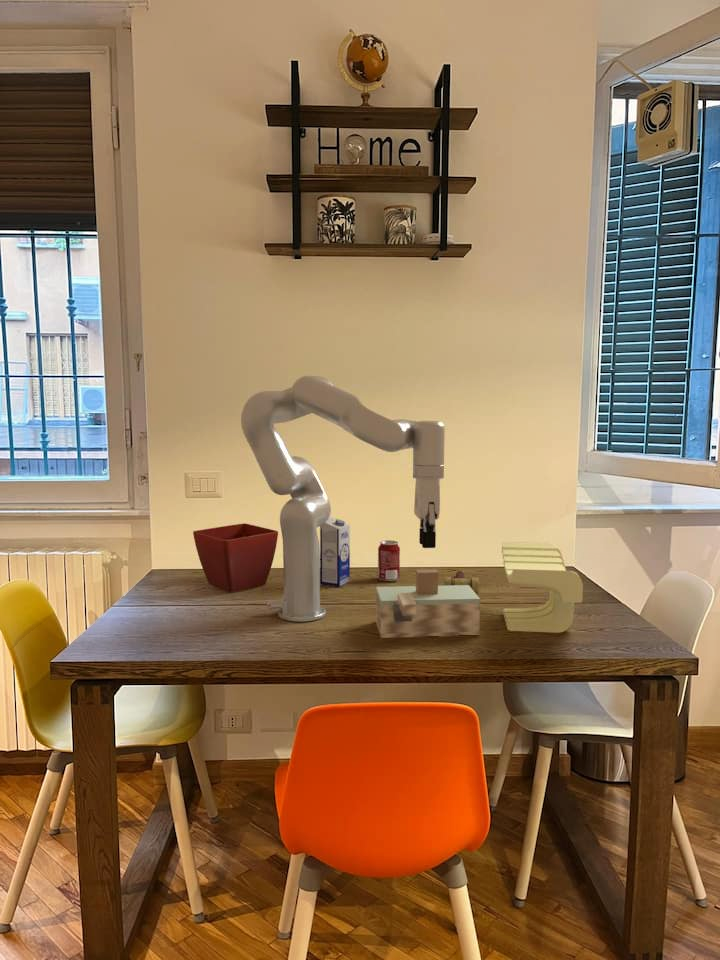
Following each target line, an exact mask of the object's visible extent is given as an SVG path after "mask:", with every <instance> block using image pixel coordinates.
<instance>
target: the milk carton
mask: <svg viewBox="0 0 720 960" xmlns="http://www.w3.org/2000/svg"><path fill="white" fill-rule="evenodd" d="M350 534H351V524H349V523H346V522H345V521H344V520H342V519H338V518H333V517H330V516H329V518H328V520H327V521H326V522H325V523H324V524H322V525H321V526H319V548H320V584H322V585H321V586H326V585H329V586H328V587H333V586H335V588H340V587H342V586H344V584H345V585H347V584H349V583H350V580H351V576H350V575H351V573H350V571H351V570H350V568H351V567H350V566H351V564H350V563H351V559H350V558H351V555H350V554H351V552H350V551H351V549H350V548H351V545H350V543H351V542H350V541H351V540H350V539H351V537H350V536H351V535H350ZM348 582H349V583H348ZM346 583H347V584H346Z"/></svg>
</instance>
